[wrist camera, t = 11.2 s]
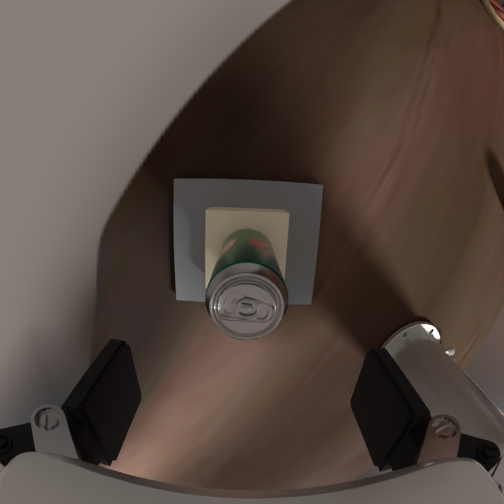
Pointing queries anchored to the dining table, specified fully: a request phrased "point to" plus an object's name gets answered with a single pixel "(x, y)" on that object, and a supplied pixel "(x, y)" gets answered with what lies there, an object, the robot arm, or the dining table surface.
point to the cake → (495, 11)
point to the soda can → (246, 287)
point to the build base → (246, 196)
